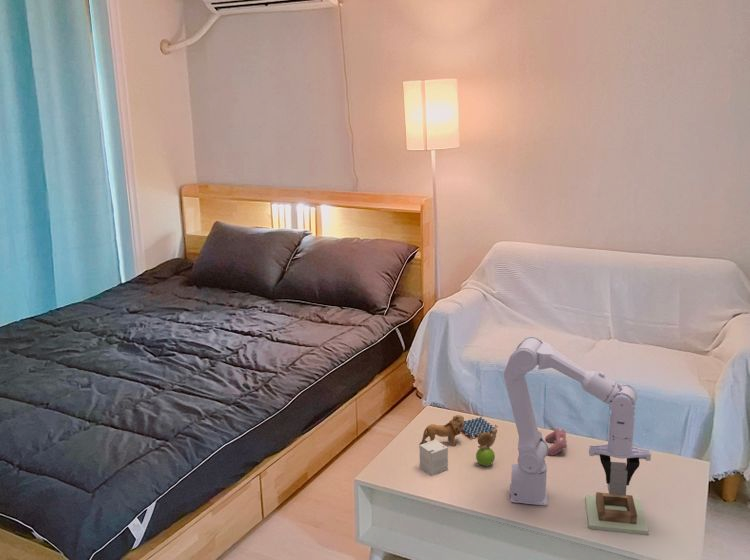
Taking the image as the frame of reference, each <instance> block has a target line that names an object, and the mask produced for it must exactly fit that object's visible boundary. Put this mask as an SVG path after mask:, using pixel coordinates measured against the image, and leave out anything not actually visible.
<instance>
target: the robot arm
mask: <svg viewBox="0 0 750 560" xmlns="http://www.w3.org/2000/svg"><path fill="white" fill-rule="evenodd" d="M537 366H538V369H537V370H538V371H541V370H545V369H554V370H556V371H558V372H559V373H561V374H563V375H565V376H567V377H569V378H571V379H572V380H574V381H576V382H578V383H580V386H581V388H582V390H583V391H585V392H586V393H588V394H590V395H591V396H593V397H595V398H596V399H598V400H600V401H601V402H603V403H605V404H607V405H609V409H610V412H611V413H610V415H609V425H608V440H607V444H601V445H600V444H599V445H598V444H597V445H589V446H588V454H589V455H588V456H589V457H594V456H599V460H600V463H601V466H602V468H603V470H604V473H605V482H606V484H607V485H608V484H610V468H611V462H612V461H611V460H612V459H611V457H612V458H616V459H626V466H627V470H628V473H627V486H630V482H631V479H632V477H633V475H634V473H635V472H636V471H637V470H638V468H639V467H640V465H641V464H640V460H645V461H647V462H651V458H652V454H651V453H652V452H651V450H650V449H649V450H648V449H643V448H638V447H634V446H633V442H634V431H635V430H634V428H635V413H636V412H635V409H636V403H637V398H638V397H637V392H636V390H635V389H634V388H633V387H632V386H630V385H629V384H627V383H621V382H616V381H614V380H613V379H611V378H610V377H608V376H606V375H605V374H606V373H605V372H603V371H602V370H600V371H598V370H586V369H585V368H583V367H582V366H580V365H579V364H577V363H576V362H575V361H573V360H571V359H570V358H569V357H567V356H565V355H564V354H563V353H561V352H559V351H557V350H556V349H555V348H554V347H552V345H550V344H549V343H548V342H546V341H542V339H540V338H538V337H536V336H528V337H525V338H524V339H523V340H522V341H521V342H520V343H519V344H518V345H517V347H516V349H515V350H514V351H513V353H512V354H510V355H509V359H508V362H507V364H506V366H505V369H504V371H503V378H504V381H505V382H504V383H505V385H506V390H507V393H508V397H509V402H510V405H511V406H510V407H511V410H512V414H513V418H514V423H515V426H516V429H517V435H518V445H517V451H518V456H517V463H515V464H513V463H512V464H511V473H510V475H511V476H510V477H511V480H510V483H509V491H510V503H515V504H516V503H517V504H525V505H534V506H535V505H536V506H546V507H547V505H548V489H547V472H548V469H547V467H548V466H547V463H546V460H545V459H546V457H547V454H548V452H549V448H550V447H549V445H548V442H546V441H545V439H544V437H543V434H542V432H541V431H540V430H538V426H537V422H536V417H535V413H534V412H535V411H534V408H533V404H532V400H531V397H530V396H531V395H530V393H529V388H528V384H527V380H526V375H527V373H530V372H531V371H533V370H535V369H536V367H537Z"/></svg>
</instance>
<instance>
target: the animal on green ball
mask: <svg viewBox="0 0 750 560" xmlns="http://www.w3.org/2000/svg"><path fill="white" fill-rule="evenodd" d="M494 427H495V428H494V429H493V431H492V432H493V433H492V435H491V434H490V433H487V432H484V433H482V434H480V435H479V437H478V436H477V437H478V438H477V444H478V446H477V447H478V450H477V451H476V453H475V459H476V461H477V463H478V464H480V465H481V466H483V467H488V466H490V465H492V464H493V463H494V461H495V458H496V455H495V454H496V453H495V452H494V450H493V449H492V448H490V447H493V445H494V443H495V441H496V438H497V437H496V436H497V433H498V425H497V424H494Z"/></svg>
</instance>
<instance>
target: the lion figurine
mask: <svg viewBox="0 0 750 560" xmlns="http://www.w3.org/2000/svg"><path fill="white" fill-rule="evenodd" d="M464 421H465V416H462V415H460V414H456V415H453V416H452V419H450V420H449V422H448V423H446V424H444V425H443V424H442V425H438V424H429V425H428V426H426V427H425V428H424V431H423V434H422V438H421V441H420V443H419V444H418V445H419V446H420V445H421V444H424V443H427V442H428V440H426V439H427V438H428V437H429V439H430V440H429V442H430V441H433V440H435V439H436V436H437V437H440V438H446V437H447V441H448V443H450V444H451V446H452V447H456V446H457V443H455V440H456V436H459V435H460V434H462V433H461V431H462V429H463V427H464V423H465V422H464Z"/></svg>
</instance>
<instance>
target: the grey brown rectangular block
mask: <svg viewBox="0 0 750 560" xmlns="http://www.w3.org/2000/svg"><path fill="white" fill-rule="evenodd" d="M627 473H628V470H627V462H620V461H619V462H618V461H611V468H610V484H607V489H608V493H609V494H611V495H622V496H626V495H627V487H628V485H627Z"/></svg>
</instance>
